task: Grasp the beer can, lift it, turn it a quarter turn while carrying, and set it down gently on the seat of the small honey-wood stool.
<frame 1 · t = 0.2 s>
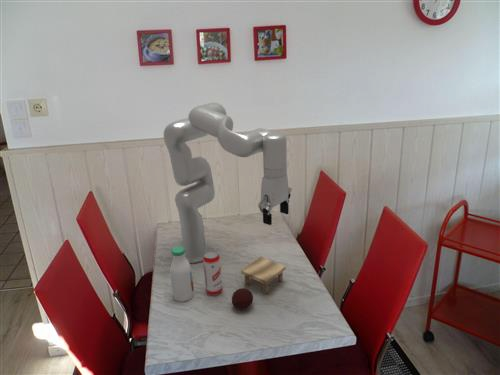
hand: (276, 218, 139), 31 cm above the table, fingers open, 9 cm apart
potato: (242, 307, 145), on the table
stool: (263, 282, 158), on the table
milk bottle: (183, 296, 152), on the table
beer can: (214, 291, 154), on the table
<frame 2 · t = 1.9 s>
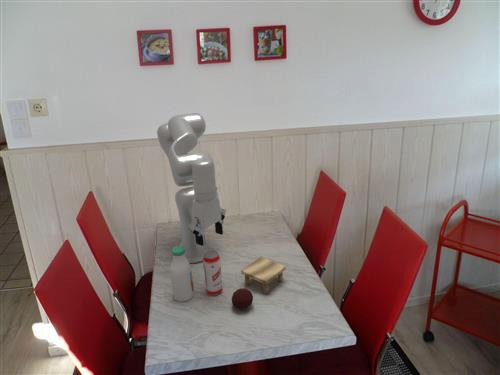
hand: (209, 238, 146), 22 cm above the table, fingers open, 9 cm apart
nothing on the table moved.
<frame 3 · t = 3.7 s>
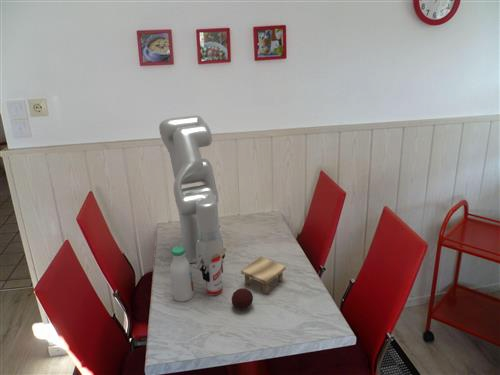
hand: (213, 275, 152), 7 cm above the table, fingers closed on beer can, 6 cm apart
beer can: (214, 291, 154), on the table, touching gripper
everything else where it was.
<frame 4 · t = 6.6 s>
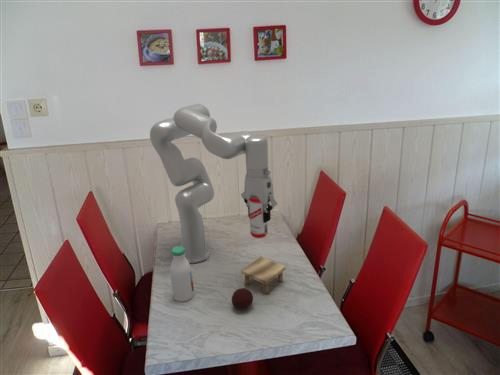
hand: (259, 218, 147), 28 cm above the table, fingers closed on beer can, 6 cm apart
beer can: (259, 235, 149), point 21 cm above the table, touching gripper
everything else where it was.
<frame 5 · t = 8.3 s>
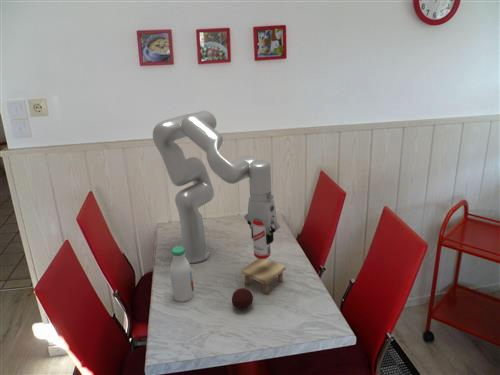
hand: (262, 239, 151), 19 cm above the table, fingers closed on beer can, 6 cm apart
beer can: (262, 256, 153), point 12 cm above the table, touching gripper
everything else where it was.
when the fingers open (14 cm above the table, at t = 9.6 s): beer can drops 1 cm, resting on stool.
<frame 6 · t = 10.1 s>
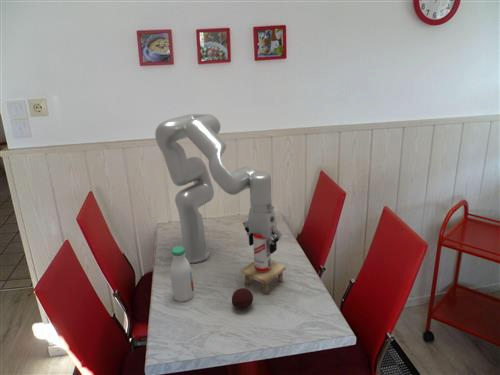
hand: (262, 248, 152), 15 cm above the table, fingers open, 9 cm apart
beer can: (262, 269, 155), point 6 cm above the table, touching stool
everything else where it was.
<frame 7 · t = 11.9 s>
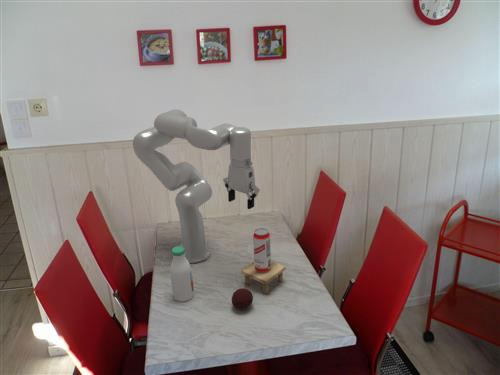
hand: (241, 204, 156), 29 cm above the table, fingers open, 9 cm apart
nothing on the table moved.
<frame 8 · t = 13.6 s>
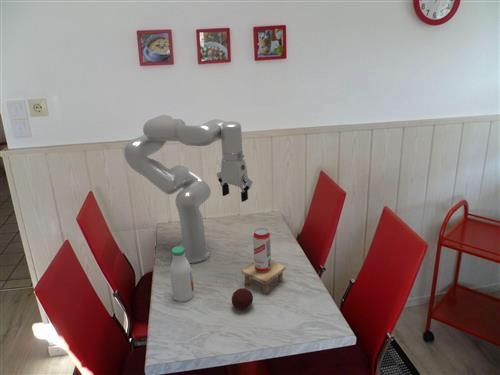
hand: (235, 197, 159), 30 cm above the table, fingers open, 9 cm apart
nothing on the table moved.
at the end: beer can inside the target area on the stool (0.3 cm from its centre), point 6.2 cm above the stool's base; beer can tilted 0°; the gripper is holding nothing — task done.
